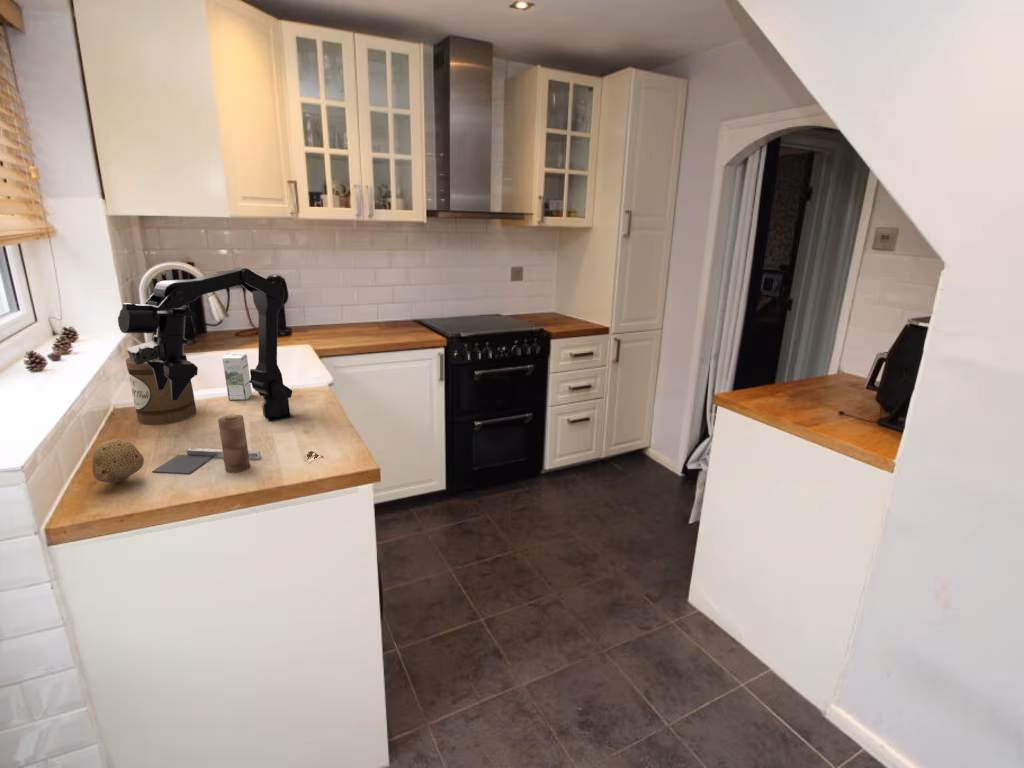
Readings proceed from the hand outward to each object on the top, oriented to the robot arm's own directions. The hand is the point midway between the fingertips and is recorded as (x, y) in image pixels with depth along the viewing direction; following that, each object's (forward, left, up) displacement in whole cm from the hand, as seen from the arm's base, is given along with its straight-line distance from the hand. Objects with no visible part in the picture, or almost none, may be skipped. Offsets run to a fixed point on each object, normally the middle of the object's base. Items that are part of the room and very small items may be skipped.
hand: (167, 394), depth 134 cm
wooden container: (-1, -26, -14) cm, 30 cm away
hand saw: (-24, +18, -15) cm, 34 cm away
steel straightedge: (-9, +14, -14) cm, 22 cm away
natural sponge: (+12, +16, -14) cm, 24 cm away
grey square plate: (0, +14, -14) cm, 19 cm away
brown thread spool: (-10, +23, -14) cm, 28 cm away
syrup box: (-22, -32, -14) cm, 42 cm away
